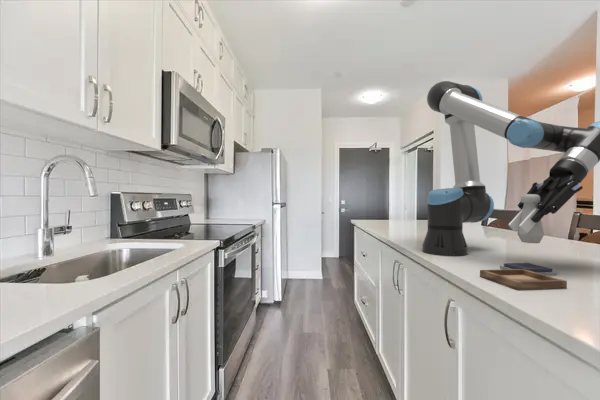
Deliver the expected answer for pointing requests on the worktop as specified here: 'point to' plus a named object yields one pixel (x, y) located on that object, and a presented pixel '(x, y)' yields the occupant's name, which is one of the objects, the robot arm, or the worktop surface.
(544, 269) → the ink pad
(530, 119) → the robot arm
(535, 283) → the tray
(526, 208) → the salt shaker
